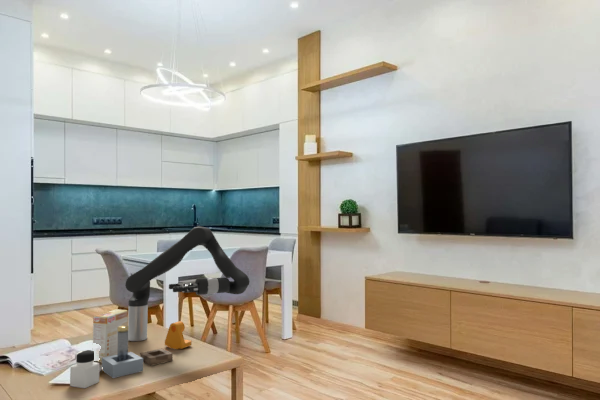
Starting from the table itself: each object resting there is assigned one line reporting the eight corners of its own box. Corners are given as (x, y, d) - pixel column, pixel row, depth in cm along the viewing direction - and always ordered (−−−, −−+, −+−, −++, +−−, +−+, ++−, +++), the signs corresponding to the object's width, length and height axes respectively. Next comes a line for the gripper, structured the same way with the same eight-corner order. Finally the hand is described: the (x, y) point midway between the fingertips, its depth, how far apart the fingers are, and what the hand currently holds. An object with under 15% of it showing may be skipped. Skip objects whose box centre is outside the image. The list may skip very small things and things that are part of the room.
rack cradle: (101, 370, 181) (101, 357, 181) (130, 363, 189) (131, 351, 189) (112, 378, 172) (113, 365, 172) (143, 370, 180) (143, 358, 180)
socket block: (140, 359, 194) (140, 353, 194) (161, 355, 201) (161, 348, 201) (150, 365, 186) (150, 358, 187) (172, 360, 193) (172, 353, 193)
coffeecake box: (114, 351, 206) (115, 308, 207) (128, 352, 204) (128, 309, 205) (91, 361, 191) (92, 315, 192) (105, 363, 189) (106, 316, 190)
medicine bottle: (99, 382, 168) (100, 349, 168) (84, 388, 161) (85, 355, 162) (84, 379, 170) (85, 347, 171) (69, 386, 164) (70, 353, 164)
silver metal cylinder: (115, 366, 181) (115, 326, 181) (125, 364, 183) (126, 325, 184) (119, 369, 178) (119, 328, 178) (129, 366, 180) (130, 327, 181)
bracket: (192, 346, 215) (192, 321, 215) (181, 350, 208) (182, 324, 209) (175, 343, 220) (175, 318, 220) (164, 347, 213) (165, 321, 214)
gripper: (202, 275, 211) (167, 277, 204) (211, 280, 199) (174, 281, 191) (202, 291, 211) (167, 294, 203) (211, 296, 198) (174, 299, 191)
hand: (170, 288), depth 197 cm, fingers open, 8 cm apart
